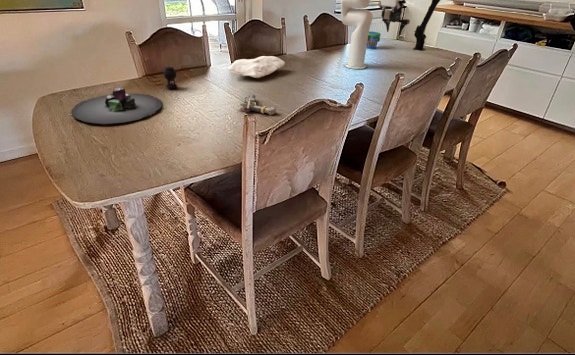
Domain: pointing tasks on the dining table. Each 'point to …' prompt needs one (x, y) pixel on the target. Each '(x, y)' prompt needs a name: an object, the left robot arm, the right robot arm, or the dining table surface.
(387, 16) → the canister
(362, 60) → the left robot arm
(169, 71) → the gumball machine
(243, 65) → the crumpled cloth
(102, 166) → the dining table surface
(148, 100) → the grey flat disc
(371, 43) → the snack cup
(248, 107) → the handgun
